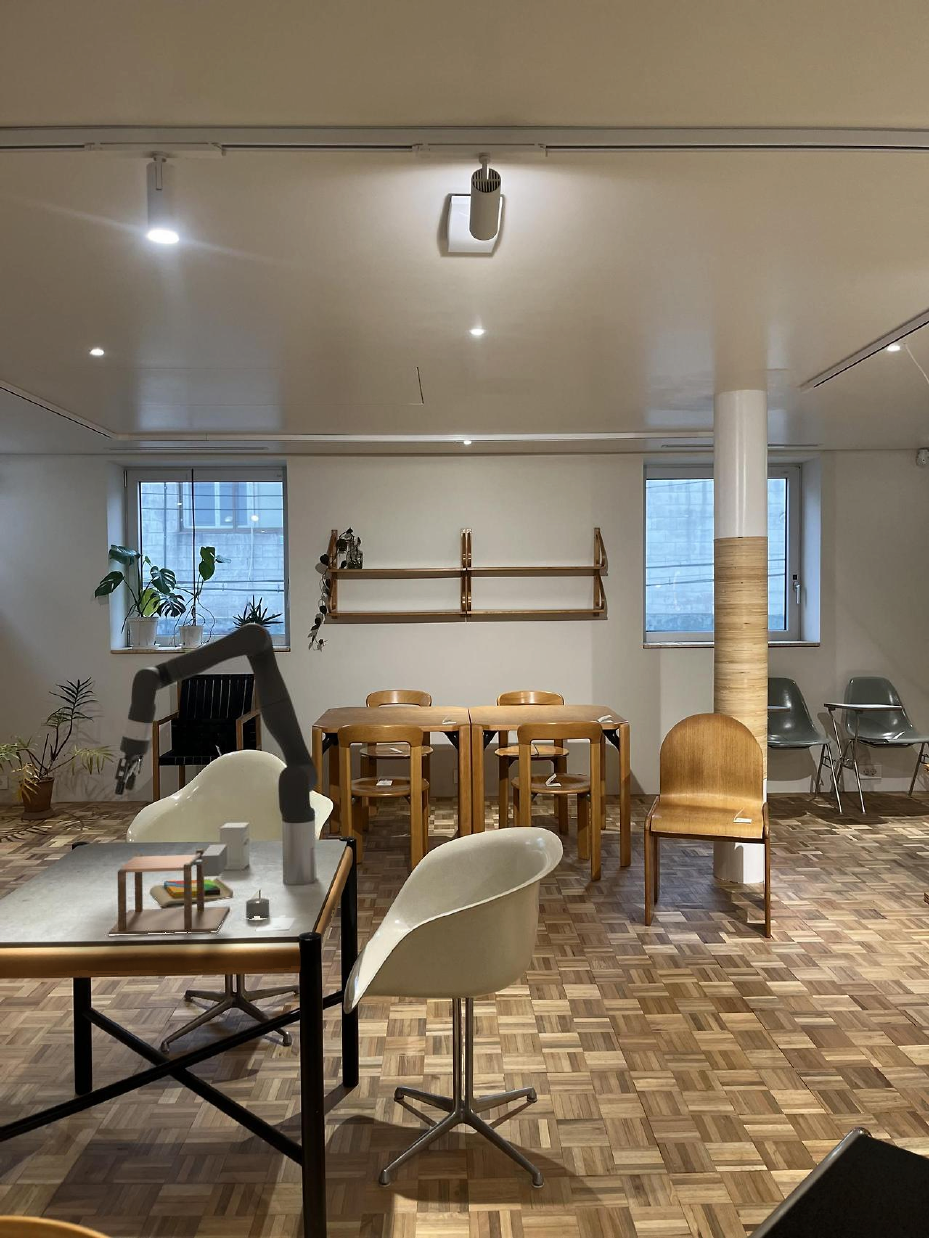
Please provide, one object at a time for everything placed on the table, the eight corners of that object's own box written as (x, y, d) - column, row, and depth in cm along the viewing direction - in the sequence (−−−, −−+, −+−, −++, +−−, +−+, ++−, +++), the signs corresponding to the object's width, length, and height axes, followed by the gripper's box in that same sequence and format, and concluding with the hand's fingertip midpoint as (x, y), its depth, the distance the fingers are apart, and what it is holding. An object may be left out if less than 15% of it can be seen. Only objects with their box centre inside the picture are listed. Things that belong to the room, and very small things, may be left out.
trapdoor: (227, 863, 233) (227, 843, 233) (218, 876, 221) (218, 855, 221) (134, 866, 231) (133, 846, 231) (120, 879, 219) (119, 858, 219)
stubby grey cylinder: (270, 913, 233) (270, 897, 233) (267, 920, 227) (267, 904, 227) (248, 914, 232) (247, 898, 232) (244, 921, 227) (244, 905, 227)
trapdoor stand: (229, 910, 236) (229, 847, 236) (217, 932, 219) (216, 864, 219) (129, 913, 234) (128, 850, 234) (108, 936, 217) (107, 868, 217)
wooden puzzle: (234, 899, 247) (234, 886, 247) (162, 910, 238) (161, 897, 238) (217, 883, 262) (217, 871, 262) (148, 893, 253) (148, 881, 253)
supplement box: (244, 869, 275) (243, 827, 275) (219, 870, 275) (218, 827, 275) (250, 863, 282) (249, 822, 282) (226, 863, 282) (225, 822, 282)
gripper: (141, 741, 256) (128, 799, 256) (157, 736, 270) (144, 790, 270) (115, 736, 256) (102, 793, 256) (131, 730, 270) (119, 785, 270)
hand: (124, 791), depth 263 cm, fingers open, 8 cm apart
